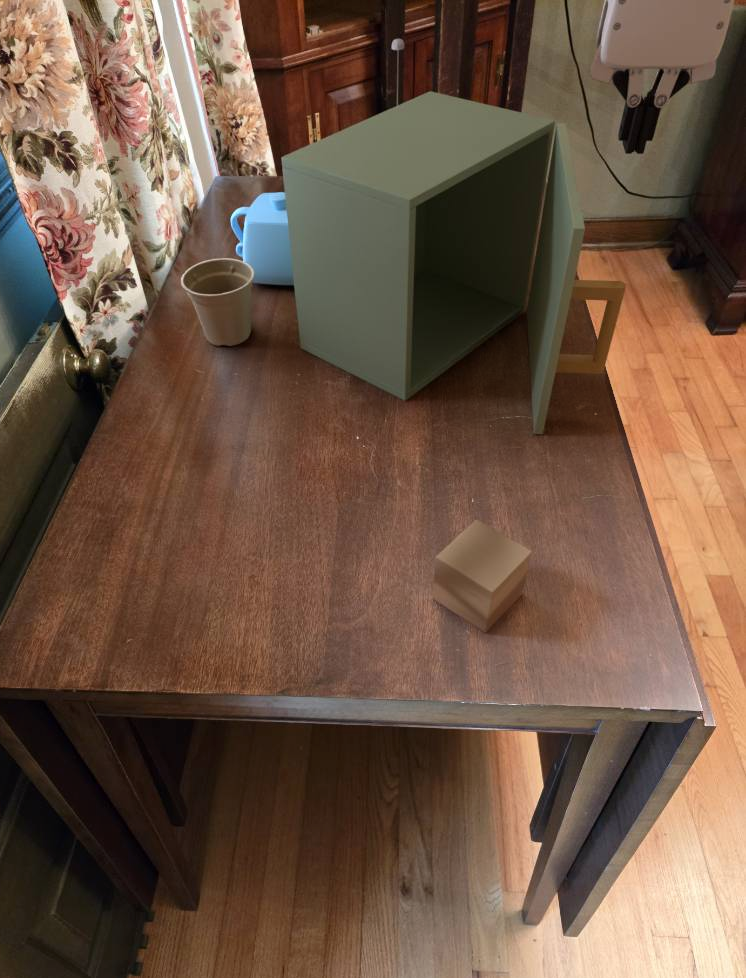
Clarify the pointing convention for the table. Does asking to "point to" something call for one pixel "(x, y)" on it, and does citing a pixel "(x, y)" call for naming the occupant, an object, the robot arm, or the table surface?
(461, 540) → the block
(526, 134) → the cupboard
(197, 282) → the flower pot
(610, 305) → the cupboard door
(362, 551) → the table surface
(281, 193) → the teapot
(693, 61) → the robot arm
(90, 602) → the table surface
